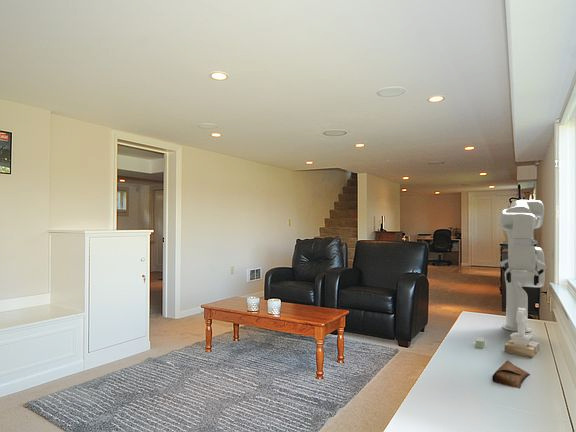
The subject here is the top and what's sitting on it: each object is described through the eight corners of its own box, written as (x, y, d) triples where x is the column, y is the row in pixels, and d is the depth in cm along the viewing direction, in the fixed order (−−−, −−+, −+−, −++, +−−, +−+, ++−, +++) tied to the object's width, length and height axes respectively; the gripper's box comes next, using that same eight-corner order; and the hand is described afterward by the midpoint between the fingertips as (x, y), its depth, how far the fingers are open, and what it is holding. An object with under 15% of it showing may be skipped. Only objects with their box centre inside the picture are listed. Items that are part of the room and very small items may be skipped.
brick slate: (521, 347, 174) (521, 340, 174) (524, 346, 175) (524, 339, 175) (537, 351, 169) (537, 344, 169) (540, 350, 171) (540, 343, 171)
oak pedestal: (510, 346, 174) (511, 339, 174) (537, 351, 168) (537, 344, 168) (504, 351, 166) (504, 344, 166) (532, 357, 160) (532, 350, 160)
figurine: (533, 343, 169) (533, 307, 169) (529, 348, 161) (529, 311, 162) (513, 340, 173) (514, 305, 174) (509, 344, 166) (509, 308, 166)
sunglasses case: (521, 389, 127) (509, 368, 130) (499, 394, 131) (488, 374, 134) (530, 373, 141) (520, 355, 144) (511, 379, 145) (501, 361, 147)
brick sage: (476, 344, 177) (476, 337, 177) (484, 345, 176) (484, 338, 176) (475, 347, 172) (475, 340, 172) (483, 348, 170) (483, 341, 171)
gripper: (548, 243, 165) (548, 285, 165) (502, 241, 177) (501, 280, 176) (545, 244, 160) (544, 287, 159) (497, 241, 171) (497, 282, 171)
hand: (522, 283), depth 168 cm, fingers open, 9 cm apart
